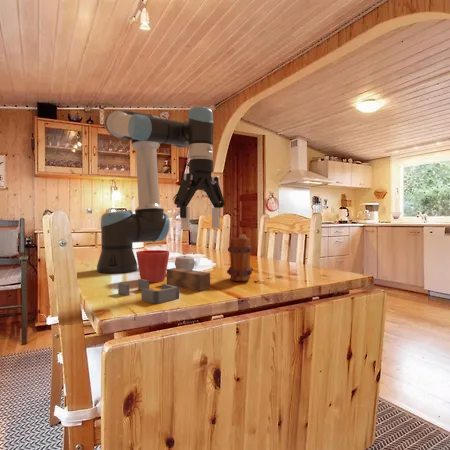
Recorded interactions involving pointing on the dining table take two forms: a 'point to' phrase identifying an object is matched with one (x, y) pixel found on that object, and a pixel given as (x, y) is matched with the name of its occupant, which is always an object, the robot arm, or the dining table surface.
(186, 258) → the apple
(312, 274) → the dining table surface
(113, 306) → the dining table surface
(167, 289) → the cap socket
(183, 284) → the brown rectangular block
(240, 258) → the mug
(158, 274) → the flower pot
